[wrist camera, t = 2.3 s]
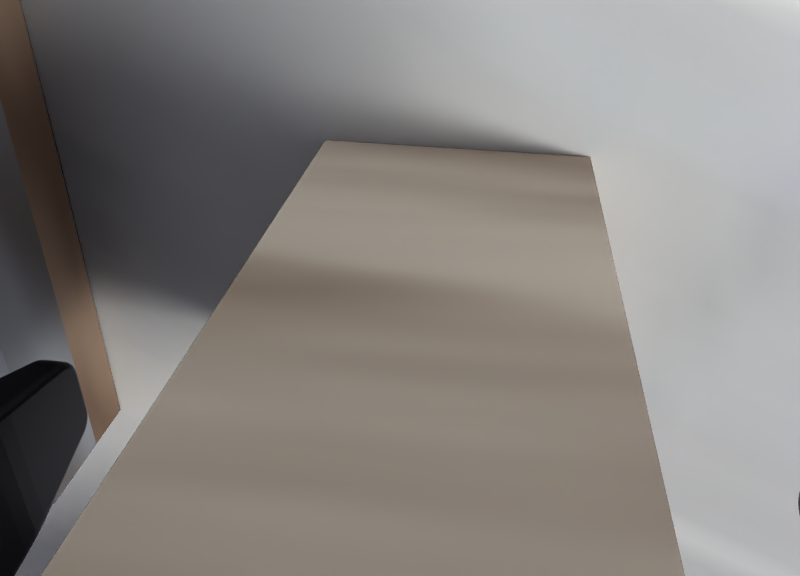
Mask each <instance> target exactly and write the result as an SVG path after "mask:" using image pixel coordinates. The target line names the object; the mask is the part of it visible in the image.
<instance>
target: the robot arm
mask: <svg viewBox="0 0 800 576" xmlns="http://www.w3.org/2000/svg"><path fill="white" fill-rule="evenodd" d="M87 420H88V413H87V408H86V404H85V401H84V397H83V393H82V390H81V386H80V383H79V379H78V375H77V372H76V370H75V368H74V367H73V365H71V364H70V363H68V362H62V361H52V360H37V361H34V362H32V363H30V364H28V365H26V366H24V367H22V368H19V369H17V370H15V371H13V372H11V373H9V374H7V375H5V376H3V377H1V378H0V576H15V574H16V572H17V570H18V569H19V567H20V565H21V564H22V562H23V560H24V558H25V557H26V555H27V553H28V551H29V550H30V548H31V546H32V544H33V542H34V540H35V539H36V537H37V535H38V533H39V531H40V529H41V527H42V525H43V523H44V521H45V519H46V517H47V514H48V512H49V510H50V508H51V505H52V503H53V501H54V499H55V497H56V494H57V492H58V490H59V488H60V485H61V483H62V481H63V479H64V477H65V474H66V472H67V470H68V468H69V465H70V463H71V461H72V459H73V457H74V454H75V452H76V450H77V448H78V445H79V443H80V441H81V439H82V437H83V434H84V432H85V429H86V426H87ZM798 506H799V514H800V493H799V500H798Z"/></svg>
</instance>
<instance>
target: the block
mask: <svg viewBox="0 0 800 576" xmlns="http://www.w3.org/2000/svg"><path fill="white" fill-rule="evenodd" d="M41 576H685V574H684V570H683V565H682V561H681V556H680V552H679V548H678V543H677V539H676V534H675V530H674V525H673V521H672V517H671V512H670V508H669V503H668V499H667V494H666V490H665V486H664V481H663V477H662V472H661V468H660V464H659V459H658V455H657V450H656V446H655V441H654V437H653V433H652V428H651V424H650V419H649V415H648V410H647V406H646V402H645V397H644V393H643V388H642V384H641V380H640V375H639V371H638V366H637V362H636V357H635V353H634V349H633V344H632V340H631V335H630V331H629V326H628V322H627V318H626V313H625V309H624V304H623V300H622V296H621V291H620V287H619V282H618V278H617V273H616V269H615V265H614V260H613V256H612V251H611V247H610V242H609V238H608V234H607V229H606V225H605V220H604V216H603V212H602V207H601V203H600V198H599V194H598V189H597V185H596V181H595V176H594V172H593V167H592V163H591V158H590V157H582V156H567V155H551V154H535V153H519V152H503V151H488V150H472V149H456V148H440V147H424V146H409V145H393V144H377V143H361V142H346V141H330V140H325V142H324V143H323V145H322V146H321V148H320V149H319V151H318V152H317V154H316V155H315V157H314V158H313V160H312V162H311V163H310V165H309V166H308V168H307V169H306V171H305V172H304V174H303V175H302V177H301V178H300V180H299V181H298V183H297V184H296V186H295V188H294V189H293V191H292V192H291V194H290V195H289V197H288V198H287V200H286V201H285V203H284V204H283V206H282V207H281V209H280V211H279V212H278V214H277V215H276V217H275V218H274V220H273V221H272V223H271V224H270V226H269V227H268V229H267V230H266V232H265V233H264V235H263V237H262V238H261V240H260V241H259V243H258V244H257V246H256V247H255V249H254V250H253V252H252V253H251V255H250V256H249V258H248V259H247V261H246V263H245V264H244V266H243V267H242V269H241V270H240V272H239V273H238V275H237V276H236V278H235V279H234V281H233V282H232V284H231V286H230V287H229V289H228V290H227V292H226V293H225V295H224V296H223V298H222V299H221V301H220V302H219V304H218V305H217V307H216V308H215V310H214V312H213V313H212V315H211V316H210V318H209V319H208V321H207V322H206V324H205V325H204V327H203V328H202V330H201V331H200V333H199V334H198V336H197V338H196V339H195V341H194V342H193V344H192V345H191V347H190V348H189V350H188V351H187V353H186V354H185V356H184V357H183V359H182V361H181V362H180V364H179V365H178V367H177V368H176V370H175V371H174V373H173V374H172V376H171V377H170V379H169V380H168V382H167V383H166V385H165V387H164V388H163V390H162V391H161V393H160V394H159V396H158V397H157V399H156V400H155V402H154V403H153V405H152V406H151V408H150V409H149V411H148V413H147V414H146V416H145V417H144V419H143V420H142V422H141V423H140V425H139V426H138V428H137V429H136V431H135V432H134V434H133V435H132V437H131V439H130V440H129V442H128V443H127V445H126V446H125V448H124V449H123V451H122V452H121V454H120V455H119V457H118V458H117V460H116V462H115V463H114V465H113V466H112V468H111V469H110V471H109V472H108V474H107V475H106V477H105V478H104V480H103V481H102V483H101V484H100V486H99V488H98V489H97V491H96V492H95V494H94V495H93V497H92V498H91V500H90V501H89V503H88V504H87V506H86V507H85V509H84V510H83V512H82V514H81V515H80V517H79V518H78V520H77V521H76V523H75V524H74V526H73V527H72V529H71V530H70V532H69V533H68V535H67V537H66V538H65V540H64V541H63V543H62V544H61V546H60V547H59V549H58V550H57V552H56V553H55V555H54V556H53V558H52V559H51V561H50V563H49V564H48V566H47V567H46V569H45V570H44V572H43V573H42V575H41Z"/></svg>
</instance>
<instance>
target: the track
mask: <svg viewBox="0 0 800 576" xmlns="http://www.w3.org/2000/svg"><path fill="white" fill-rule="evenodd" d="M37 360H52V361H62V362H68V363H70V364H71V365H73V367H74V368H75V370H76V372H77V375H78V379H79V383H80V386H81V390H82V393H83V397H84V401H85V404H86V408H87V413H88V420H87V426H86V429H85V432H84V434H83V437H82V439H81V441H80V443H79V445H78V448H77V450H76V452H75V454H74V457H73V459H72V461H71V463H70V465H69V468H68V470H67V472H66V474H65V477H64V479H63V481H62V483H61V485H60V488H59V490H58V492H57V494H56V497H55V499H54V501H53V503H52V504H54V503H55V502H56V500H57V499H58V497H59V496H60V495H61V493H62V492H63V490H64V489H65V488H66V486H67V485H68V483H69V482H70V480H71V479H72V478H73V476H74V475H75V473H76V472H77V471H78V469H79V468H80V466H81V465H82V463H83V462H84V461H85V459H86V458H87V456H88V455H89V453H90V452H91V451H92V449H93V448H94V446H95V445H96V444H97V442H98V441H99V439H100V438H101V436H102V435H103V434H104V432H105V431H106V429H107V428H108V427H109V425H110V424H111V422H112V421H113V419H114V418H115V417H116V415H117V414H118V412H119V411H120V406H119V402H118V397H117V393H116V389H115V385H114V381H113V377H112V373H111V369H110V365H109V361H108V357H107V353H106V349H105V345H104V341H103V337H102V332H101V328H100V324H99V320H98V316H97V312H96V308H95V304H94V300H93V296H92V292H91V288H90V284H89V280H88V276H87V272H86V267H85V263H84V259H83V255H82V251H81V247H80V243H79V239H78V235H77V231H76V227H75V223H74V219H73V215H72V211H71V207H70V203H69V198H68V194H67V190H66V186H65V182H64V178H63V174H62V170H61V166H60V162H59V158H58V154H57V150H56V146H55V142H54V138H53V133H52V129H51V125H50V121H49V117H48V113H47V109H46V105H45V101H44V97H43V93H42V89H41V85H40V81H39V77H38V73H37V69H36V64H35V60H34V56H33V52H32V48H31V44H30V40H29V36H28V32H27V28H26V24H25V20H24V16H23V12H22V8H21V4H20V0H0V378H1V377H3V376H5V375H7V374H9V373H11V372H13V371H15V370H17V369H19V368H22V367H24V366H26V365H28V364H30V363H32V362H34V361H37Z"/></svg>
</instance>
